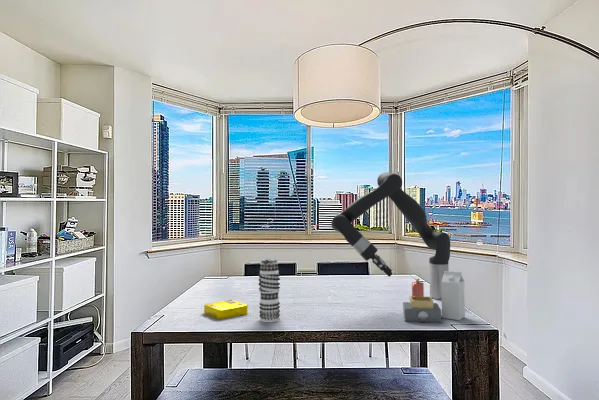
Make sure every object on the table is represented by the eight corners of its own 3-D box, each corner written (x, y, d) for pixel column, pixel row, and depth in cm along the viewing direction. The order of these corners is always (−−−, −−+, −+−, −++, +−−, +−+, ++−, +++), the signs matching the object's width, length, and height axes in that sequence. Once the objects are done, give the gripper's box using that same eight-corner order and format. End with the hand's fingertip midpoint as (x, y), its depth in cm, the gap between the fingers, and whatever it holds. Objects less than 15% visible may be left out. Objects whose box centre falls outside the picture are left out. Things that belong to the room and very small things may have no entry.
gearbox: (403, 313, 176) (402, 295, 177) (437, 315, 174) (436, 296, 174) (405, 322, 163) (404, 302, 164) (441, 323, 161) (441, 303, 161)
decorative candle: (260, 323, 164) (260, 261, 165) (256, 317, 173) (256, 258, 174) (283, 321, 167) (282, 260, 167) (277, 315, 176) (277, 257, 176)
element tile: (202, 314, 182) (202, 303, 182) (231, 308, 192) (231, 298, 192) (218, 320, 171) (218, 309, 171) (249, 314, 180) (249, 303, 180)
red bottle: (411, 308, 186) (411, 277, 186) (423, 308, 185) (422, 277, 185) (412, 311, 181) (412, 279, 181) (424, 311, 180) (424, 279, 180)
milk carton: (447, 314, 175) (447, 269, 175) (465, 317, 170) (464, 271, 171) (441, 317, 169) (441, 271, 170) (459, 320, 165) (458, 273, 165)
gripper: (370, 243, 180) (397, 270, 178) (370, 241, 194) (396, 265, 192) (358, 255, 181) (385, 282, 179) (359, 252, 195) (384, 276, 193)
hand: (390, 273), depth 185 cm, fingers open, 8 cm apart
